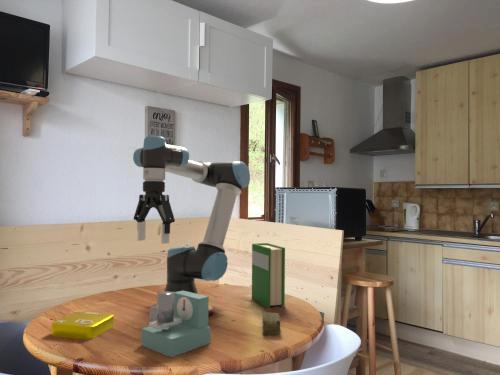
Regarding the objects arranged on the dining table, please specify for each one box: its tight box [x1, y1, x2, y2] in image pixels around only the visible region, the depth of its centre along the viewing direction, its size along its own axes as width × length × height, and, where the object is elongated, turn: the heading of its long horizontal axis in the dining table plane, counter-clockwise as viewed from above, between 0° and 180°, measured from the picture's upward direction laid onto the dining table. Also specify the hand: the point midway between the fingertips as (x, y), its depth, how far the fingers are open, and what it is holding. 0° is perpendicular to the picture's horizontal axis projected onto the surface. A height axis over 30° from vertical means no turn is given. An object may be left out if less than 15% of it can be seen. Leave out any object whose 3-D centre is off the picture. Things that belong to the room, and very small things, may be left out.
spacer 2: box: [156, 290, 175, 323], centre depth 122 cm, size 5×5×8 cm
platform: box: [148, 316, 182, 332], centre depth 122 cm, size 9×4×3 cm, turn 140°
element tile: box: [50, 311, 115, 340], centre depth 137 cm, size 15×15×5 cm
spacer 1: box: [149, 304, 157, 322], centre depth 137 cm, size 5×5×8 cm
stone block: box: [262, 312, 281, 336], centre depth 139 cm, size 6×12×5 cm, turn 0°
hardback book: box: [251, 242, 286, 309], centre depth 177 cm, size 18×7×24 cm, turn 22°
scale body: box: [141, 291, 211, 358], centre depth 125 cm, size 15×14×14 cm
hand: (153, 241), depth 144 cm, fingers open, 13 cm apart
